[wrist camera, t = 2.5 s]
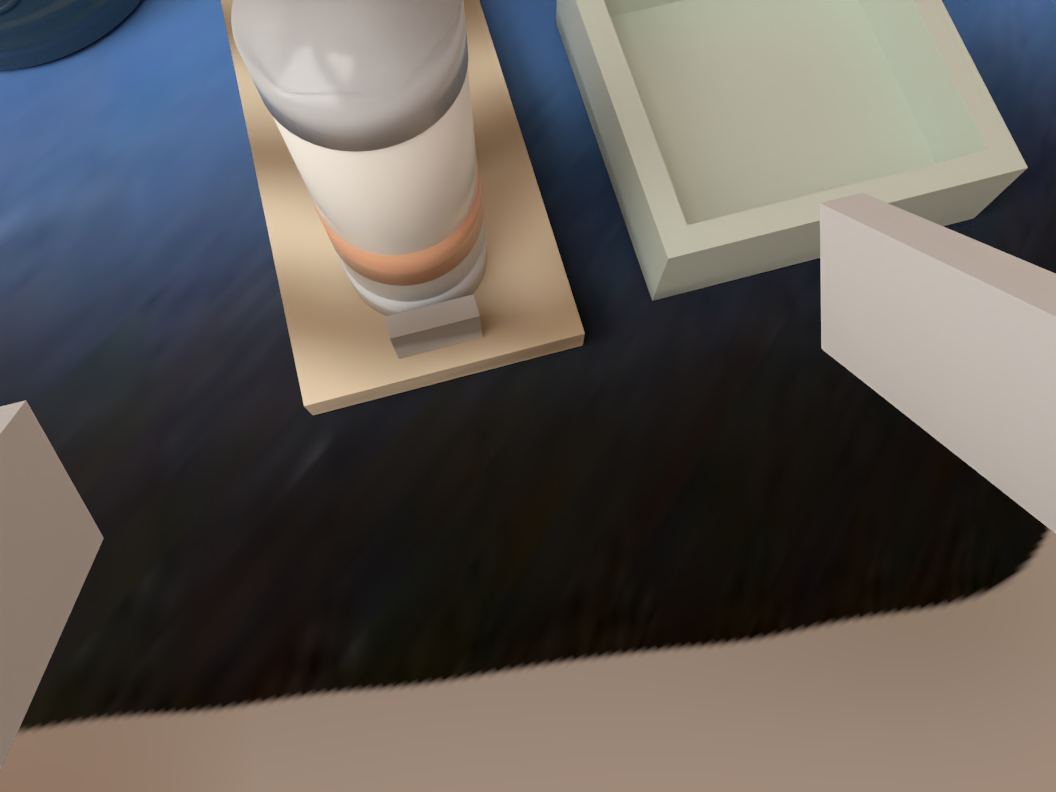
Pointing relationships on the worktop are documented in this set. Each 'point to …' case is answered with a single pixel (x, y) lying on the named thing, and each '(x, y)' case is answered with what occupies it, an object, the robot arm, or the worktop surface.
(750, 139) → the tray
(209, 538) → the worktop surface
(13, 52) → the canister
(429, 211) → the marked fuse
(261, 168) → the block
